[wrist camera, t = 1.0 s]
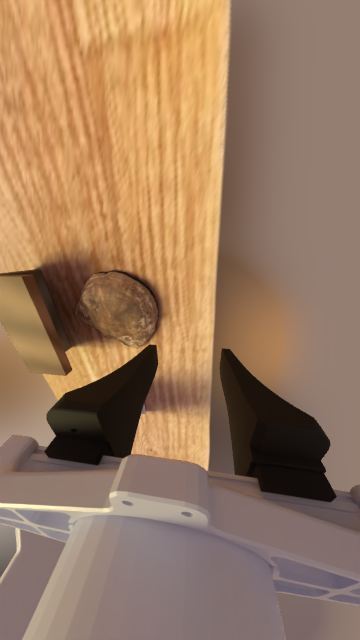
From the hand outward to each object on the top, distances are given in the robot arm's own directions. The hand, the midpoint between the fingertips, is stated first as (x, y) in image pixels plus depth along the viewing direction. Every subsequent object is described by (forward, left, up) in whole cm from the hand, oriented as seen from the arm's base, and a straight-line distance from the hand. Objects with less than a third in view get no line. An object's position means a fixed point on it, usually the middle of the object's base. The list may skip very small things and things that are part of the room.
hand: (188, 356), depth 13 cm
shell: (0, +11, -11) cm, 16 cm away
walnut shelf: (-1, +21, -10) cm, 23 cm away
